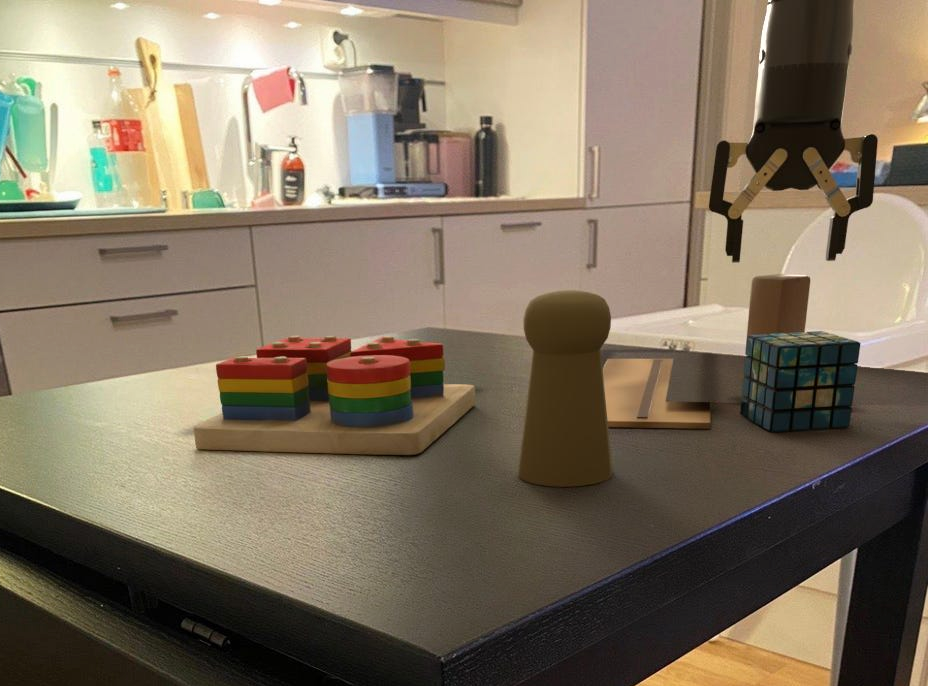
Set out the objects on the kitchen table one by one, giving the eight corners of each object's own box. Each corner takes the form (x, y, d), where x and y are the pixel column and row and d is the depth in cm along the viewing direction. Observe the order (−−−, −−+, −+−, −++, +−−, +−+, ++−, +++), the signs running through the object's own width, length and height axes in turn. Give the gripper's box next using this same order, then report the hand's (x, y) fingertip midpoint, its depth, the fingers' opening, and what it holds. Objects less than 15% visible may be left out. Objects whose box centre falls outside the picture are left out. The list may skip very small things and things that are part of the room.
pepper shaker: (498, 476, 62) (495, 294, 57) (555, 456, 66) (557, 285, 61) (575, 492, 58) (579, 299, 54) (631, 470, 62) (639, 288, 57)
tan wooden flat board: (709, 363, 96) (710, 357, 96) (710, 429, 71) (710, 421, 71) (607, 363, 98) (607, 357, 98) (574, 426, 74) (574, 418, 73)
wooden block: (803, 362, 95) (812, 275, 91) (773, 367, 93) (782, 278, 90) (771, 357, 98) (780, 273, 95) (742, 362, 96) (750, 276, 93)
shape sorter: (288, 401, 87) (280, 330, 84) (477, 404, 82) (475, 330, 80) (193, 449, 71) (180, 365, 69) (418, 456, 67) (414, 366, 65)
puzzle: (739, 415, 75) (746, 334, 73) (813, 410, 76) (823, 330, 73) (770, 432, 70) (778, 346, 67) (850, 427, 70) (862, 341, 68)
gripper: (884, 62, 87) (857, 257, 93) (718, 71, 90) (704, 259, 97) (898, 53, 80) (868, 263, 87) (719, 64, 83) (704, 265, 90)
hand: (782, 261), depth 92 cm, fingers open, 8 cm apart
